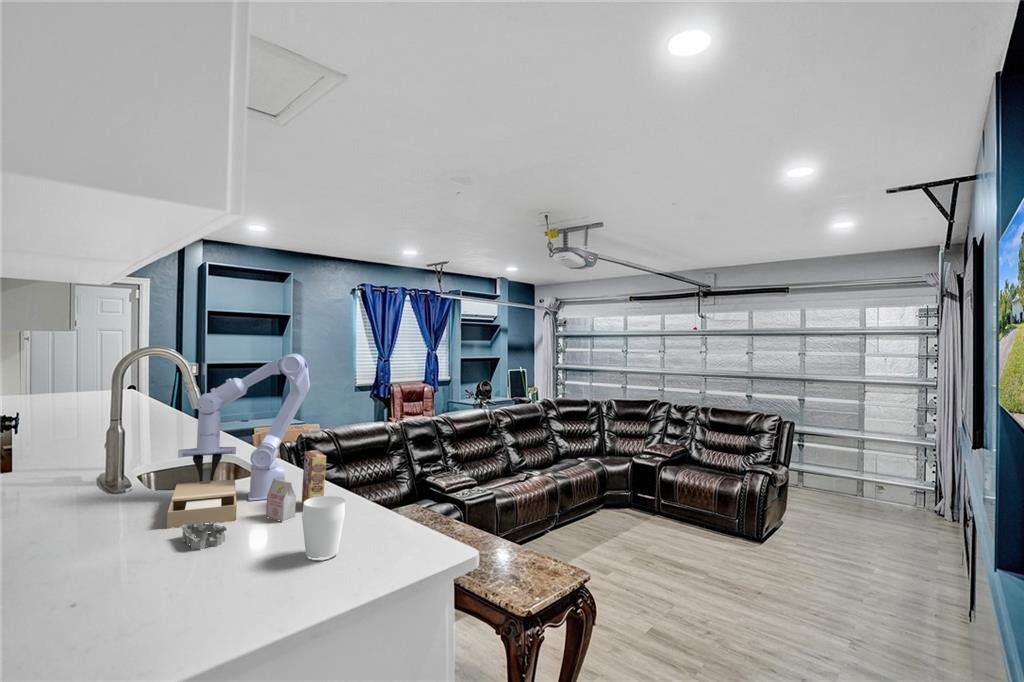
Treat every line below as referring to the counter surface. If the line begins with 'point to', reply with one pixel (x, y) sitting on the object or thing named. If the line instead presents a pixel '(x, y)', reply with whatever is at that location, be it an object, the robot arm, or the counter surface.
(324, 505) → the cup
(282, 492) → the milk carton
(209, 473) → the sliding lid
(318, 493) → the candy box
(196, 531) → the egg carton
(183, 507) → the carton
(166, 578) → the counter surface
